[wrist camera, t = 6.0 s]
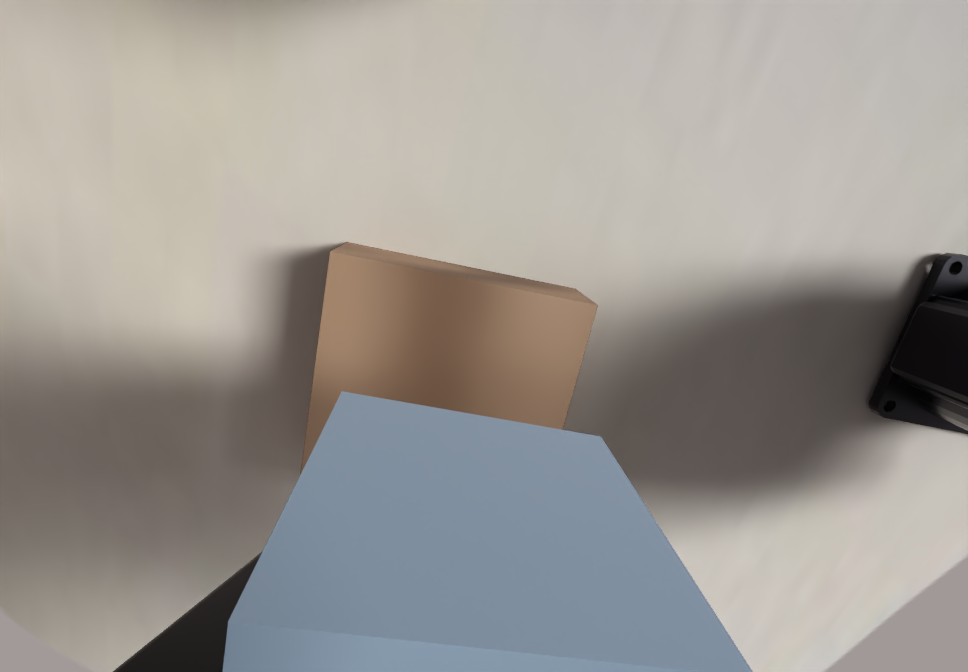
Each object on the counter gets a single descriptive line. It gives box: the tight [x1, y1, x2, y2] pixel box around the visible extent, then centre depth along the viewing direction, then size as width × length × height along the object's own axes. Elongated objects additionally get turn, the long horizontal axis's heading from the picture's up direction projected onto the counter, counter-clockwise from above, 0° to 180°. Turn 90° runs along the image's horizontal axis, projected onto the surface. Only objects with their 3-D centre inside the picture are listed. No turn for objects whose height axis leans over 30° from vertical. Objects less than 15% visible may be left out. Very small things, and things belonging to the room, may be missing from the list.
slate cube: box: [223, 391, 752, 672], centre depth 8 cm, size 5×5×5 cm
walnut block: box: [300, 242, 598, 475], centre depth 17 cm, size 8×8×3 cm
